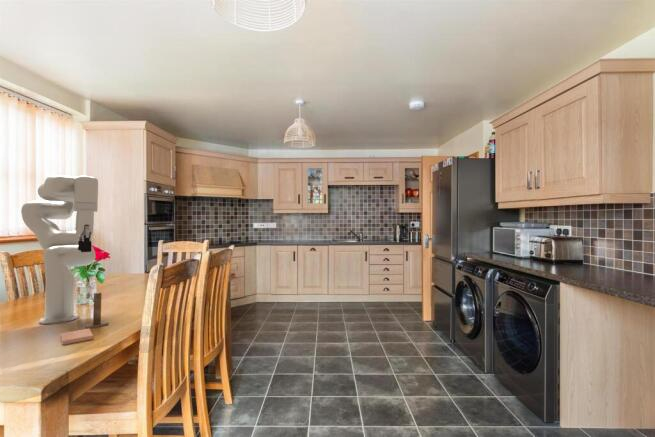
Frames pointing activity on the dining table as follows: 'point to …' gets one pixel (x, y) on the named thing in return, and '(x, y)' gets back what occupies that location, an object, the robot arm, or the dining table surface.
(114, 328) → the dining table surface
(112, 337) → the dining table surface
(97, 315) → the tool
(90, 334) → the tile
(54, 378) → the dining table surface
